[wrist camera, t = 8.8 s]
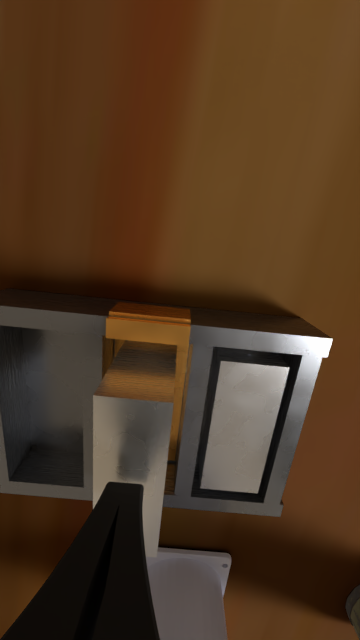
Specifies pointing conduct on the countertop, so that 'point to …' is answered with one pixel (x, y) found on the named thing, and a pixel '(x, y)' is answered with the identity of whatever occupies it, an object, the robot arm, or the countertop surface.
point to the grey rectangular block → (136, 427)
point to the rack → (189, 396)
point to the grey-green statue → (354, 609)
